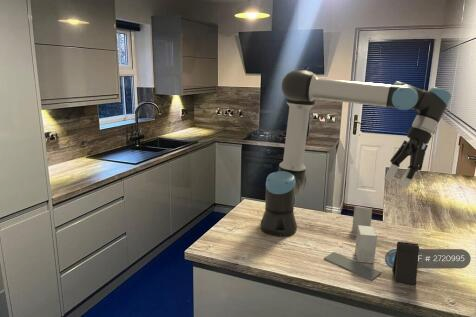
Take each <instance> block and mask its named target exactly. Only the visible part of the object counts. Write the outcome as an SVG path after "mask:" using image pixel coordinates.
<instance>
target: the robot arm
mask: <svg viewBox="0 0 476 317" xmlns="http://www.w3.org/2000/svg"><path fill="white" fill-rule="evenodd" d="M280 84H281V85H280V86H281V91H282V94H283V95H284V96H285V97H286V104H287V106H288V107H289V109H288V118H287V124H286V125H287V126H286V133H285V134H286V135H285V143H284V150H283V151H284V152H283V161H281V162H280V163H279V166H278V171H274V172H271V173H269V174H268V175H267V177H266V181H265V210H264V213H263V216H262V219H261V220H260V230H261V231H262V232H263V233H265V234H267V235H270V236H272V237H273V236H274V237H288V236H292V235H294V234H296V232H297V228H298V224H297V222H296V216H295V213H294V210H295V208H294V207H295V198H296V197H297V195H299V194H300V193H301V192H302V191H303V190H304V189H305V187H306V184H307V181H308V180H307V175H306V174H307V173H306V172H307V171H306V170H307V169H306V168H307V166H305V164H304V158H305V150H306V143H307V136H308V129H309V128H308V127H309V120H310V114H311V113H310V112H311V109H312V108H313V107H314V106H315V103H316V102H315V101H316V100H323V101H331V102H339V103H340V102H341V103H349V104H355V105H356V104H359V105H366V106H367V105H368V106H375V107H376V106H377V107H385V108H390V109H391V108H392V109H398V110H400V111H408V110H414V111H417V112H418V113H417V114H416V116H415V117H414V120H413V122H412V124H411V127H410V128H409V130H408V131H407V134H406V137H407V138H408V139H409V140H408V141H407V140H404V141H403V142H402V144H401V145H400V147H399V148H398V149H397V151H396V152H395V154H393V156H392V157H391V158H390V162H391V164H390V166H389V169H388V170H387V173H386V175H385V176H384V178H383V179H384V180H385V181H388V182H390V183H392V182H393V180H394V177H395V176H396V174H397V171H399V168H400V167H401V166H400V164H402V163H403V161H404V160H406V158H408V157H410V159H409V165H408V166H407V169H406V170H405V173H404V175H403V177H402V178H401V181H400V182H399V184H398V185H399V186H400V187H403V188H404V189H408V188H409V186H410V184H411V181H412V180H413V178H414V175H415V174H416V172H418V171H421V170H422V168H423V165H424V159H425V155H426V151H427V149H428V144H429V142H430V140H432V139H431V138H432V136H433V135H432V134H434V133H435V131H436V129H438V125H439V122H441V119H442V117H443V116H444V113H445V111H446V109H447V107H448V104H449V103H450V100H451V98H452V94H451V92H449V90H447V89H444V88H441V87H436V86H434V87H433V86H432V87H430V88H429V90H425V89H421V88H418V87H416V86H413V85H411V84H407V83H406V82H402V81H397V80H396V81H395V82H394V83H393V84H385V83H374V82H362V81H353V80H351V81H350V80H343V79H342V80H340V79H332V78H331V79H330V78H319V77H318V76H317V75H316V74H315V73H314V72H312V71H311V70H306V69H305V70H304V69H302V70H301V69H300V70H296V69H295V70H291V71H290V72H287V74H286V75H284V77H283V79H282V81H281V83H280Z"/></svg>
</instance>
